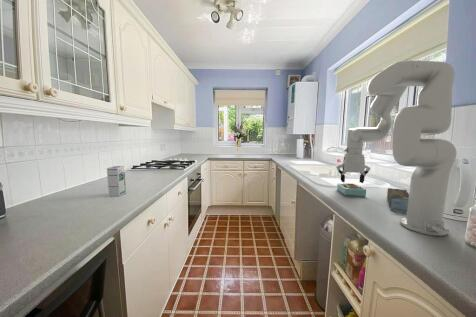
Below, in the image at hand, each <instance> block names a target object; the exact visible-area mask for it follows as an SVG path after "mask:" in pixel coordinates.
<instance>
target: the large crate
mask: <svg viewBox="0 0 476 317" xmlns="http://www.w3.org/2000/svg"><path fill="white" fill-rule="evenodd" d="M355 184H356V183H355ZM356 185H358V186H359V187H360V189H350V188H345V187H343V183H337V184H336V186H337V187H336V190H337V192H339V193H340V194H341V195H343V197H360V198H362V197H363V198H366V197H367V189H366V188H364V187H362V186H361V185H359V184H358V183H357V184H356Z"/></svg>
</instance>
